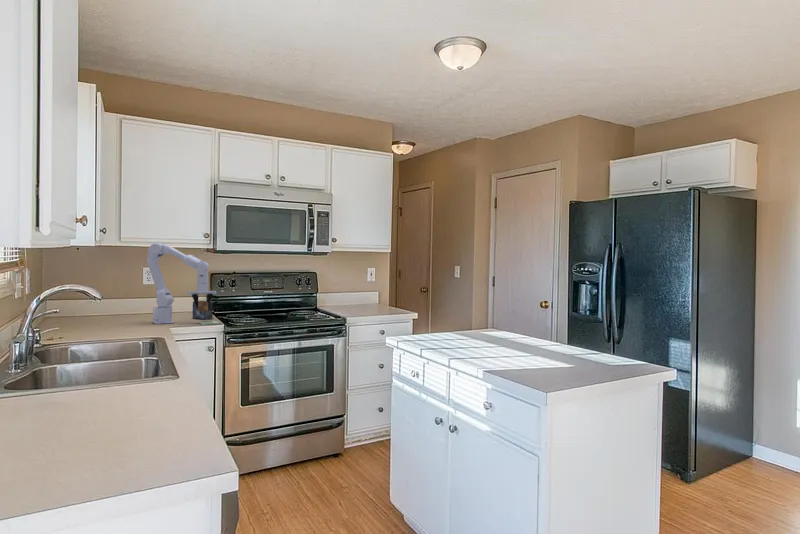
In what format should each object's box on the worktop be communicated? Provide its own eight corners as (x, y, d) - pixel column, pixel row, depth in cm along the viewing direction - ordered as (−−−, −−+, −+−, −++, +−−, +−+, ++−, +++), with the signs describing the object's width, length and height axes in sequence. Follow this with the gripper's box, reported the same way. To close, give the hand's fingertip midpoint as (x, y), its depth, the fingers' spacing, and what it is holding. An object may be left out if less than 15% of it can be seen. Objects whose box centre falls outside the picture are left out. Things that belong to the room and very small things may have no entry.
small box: (191, 318, 289) (191, 301, 289) (200, 317, 295) (201, 300, 295) (203, 320, 284) (204, 302, 284) (212, 319, 290) (213, 301, 290)
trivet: (202, 325, 264) (202, 323, 264) (198, 323, 271) (198, 321, 271) (219, 324, 269) (219, 322, 269) (215, 322, 276) (215, 320, 276)
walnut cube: (198, 311, 268) (198, 302, 268) (196, 310, 272) (196, 301, 272) (208, 311, 271) (208, 302, 271) (205, 310, 275) (205, 301, 275)
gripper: (190, 283, 264) (190, 308, 264) (217, 283, 272) (217, 307, 272) (187, 283, 269) (187, 307, 270) (214, 282, 278) (214, 306, 278)
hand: (202, 307), depth 271 cm, fingers closed on walnut cube, 5 cm apart
